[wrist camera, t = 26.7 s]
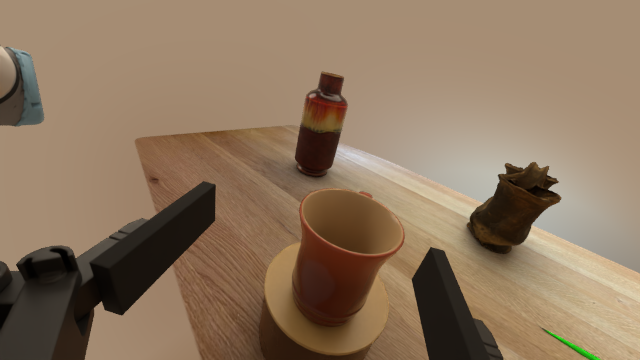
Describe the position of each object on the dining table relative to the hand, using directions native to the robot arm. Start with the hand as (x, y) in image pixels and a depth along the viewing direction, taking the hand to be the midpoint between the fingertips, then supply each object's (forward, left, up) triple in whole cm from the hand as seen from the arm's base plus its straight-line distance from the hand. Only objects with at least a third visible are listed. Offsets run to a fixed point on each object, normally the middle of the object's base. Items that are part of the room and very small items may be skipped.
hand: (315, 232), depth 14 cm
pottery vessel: (+55, -8, -20) cm, 59 cm away
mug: (+7, +2, -12) cm, 14 cm away
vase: (+37, +36, -20) cm, 55 cm away
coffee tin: (+7, +2, -20) cm, 21 cm away
